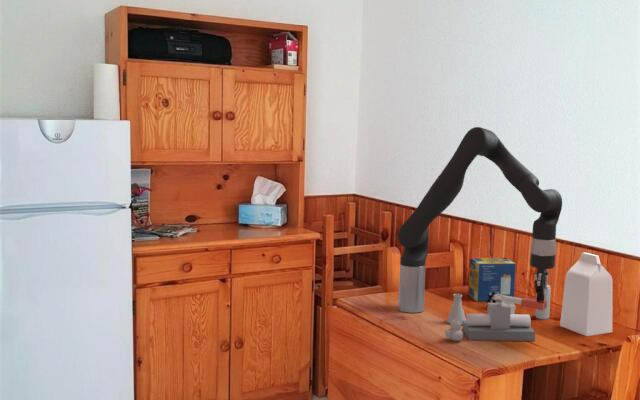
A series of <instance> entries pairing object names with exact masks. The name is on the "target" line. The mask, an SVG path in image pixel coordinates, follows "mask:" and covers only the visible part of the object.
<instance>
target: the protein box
mask: <svg viewBox="0 0 640 400" xmlns="http://www.w3.org/2000/svg"><path fill="white" fill-rule="evenodd" d="M516 267H517V264H516V262H514V261H512V260H510V259H508V258H507V257H469V279H468V281H469V282H468V296H469V297H471V298H472V299H473V300H474V301H475V302H477V303H486V302H485V300H488V297H487V295H488V294H489V295H492V292H495V294H502V295H505V296H511V297H515V287H516V286H515V285H516ZM492 298H494V297H492ZM492 298H491V299H492ZM490 303H492V302H491V300H490Z"/></svg>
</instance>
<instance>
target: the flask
mask: <svg viewBox="0 0 640 400" xmlns="http://www.w3.org/2000/svg"><path fill="white" fill-rule="evenodd" d="M452 296H453V301H452V306H451V309H450V311H449V314H448V316H447V318H446V323H447V324H449V325H450V323H451V321H452V320H453V319H456V317H457V320H458V321H459V323H460V324H461V326H463V321H467V316H466V315H465V311H464V308H463V303H462V297H463V295H462V293H453V294H452Z"/></svg>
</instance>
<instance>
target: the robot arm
mask: <svg viewBox="0 0 640 400" xmlns="http://www.w3.org/2000/svg"><path fill="white" fill-rule="evenodd" d="M477 156H478V157H479V156H480V157H484V158H485V159H488V160H489V161H491V162H492V163H493V164H494V165H496V167H497V168H499V169H500V171H501V173H502V175H503V176H504V178H505V179H506V181H508V182H509V183H510V185H512V186H513V187H514V188H515V189H516V190H517V191H518V192H519V193H520V194H521V195H522V197H523V199H524V201H525V202H526V203H527V205H528V207H529V208H530V209H532V210H533V211H534V212H537V213H540V215H539V217H538V218H537V219H535V220H534V221H533V224H532V236H531V237H532V238H531V243H530V257H529V259H530V260H529V265H530V267H532V268H535V269H536V270H535V272H534V276H533V277H534V288H535V291H534V293H535V294H537V300H543V301H544V298H545V292H546V289H547V285H549V284H548V282H549V277H550V271H549V272H548V270H552V269H554V268H555V266H556V253H557V252H556V251H557V242H556V241H557V240H556V237H557V236H556V235H557V225H558V222H559V219H560V215H561V212H562V208H563V198H562V194H561V193H560V192H559V191H558V190H557V189H554V188H548V189H542V188H541V187H539V185H540V179H539V178H538V177H537V176H536V175H535V174H534V173H533V172H532V171H530V170H529V169H528V168H527V167H526V166H525V165H524V164H522V163H521V162H520V161H519V160H518V159H517V158H516V157H515V155H513V154H512V152H510V151H509V149H508V148H507V147H506V146H505V144H504V143H503V142H502V141H501V139H500V138H499V137H498V135H496V133H495V132H493V131H492V130H489V129H487V128H483V127H481V126H480V127H479V126H475V127H472V128H471V129H469V130H468V131H467V132H466V133H465V135H464V137H463V138H462V139H461V141H460V143H459V145H458V146H457V148H456V151H455V152H454V154H453V155H452V157H451V159H449V161H448V163H447V164H446V166H445V167H444V168H443V170H442V171H441V173H440V174H439V175H438V176H437V178H436V179H435V181H433V183H432V185H430V188H429V189H428V191H427V192H426V194H425V195H424V197H423V198H422V199H421V201H420V202H419V204H418V206H417V207H416V208H415V210H414V211H413V212H412V214H410V216H409V217H408V218H407V219H406V220H405V222H403V223H402V225H401V226H400V227H399V229H398V231H397V241H398V243H399V244H400V245H401V246H403V247H404V249H403V252H402V254H401V256H400V260H399V262H400V263H399V282H398V306H397V307H398V309H399V312H404V313H409V314H412V313H414V314H417V313H422V312H424V311H425V287H426V261H427V258H428V252H429V251H428V250H429V238H430V235H429V230H428V227H429V226H430V224H431V223H432V222H433V221H435V219H436V218H437V217H439V215H441V214H442V213H443V212H444V211H445V210H446V209H447V208H448V207H449V206H450V205H451V204H452V203H453V202H454V200H455V199H456V197H457V196H458V195H459V193H460V192H461V191H462V189H463V185H464V182H465V176H466V174H467V173H466V172H467V170H468V168H469V166H470V165H471V164H472V162H473V161H474V160H475V159H476V157H477Z"/></svg>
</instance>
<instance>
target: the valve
mask: <svg viewBox="0 0 640 400" xmlns="http://www.w3.org/2000/svg"><path fill="white" fill-rule="evenodd" d="M494 295H495V292H492V295H489V294H488V295H487V297H488V300H485V302H484V303H487V304H486V308H488V303H497V301H495V300H494V298H492V297H494ZM491 298H492V299H491ZM490 300H491V302H490ZM502 303H506V304H507V305H508V306H509V307H510V308H511V314H516V313H515V310H516V305H515V304H516V303H510V302H505V301H502Z"/></svg>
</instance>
